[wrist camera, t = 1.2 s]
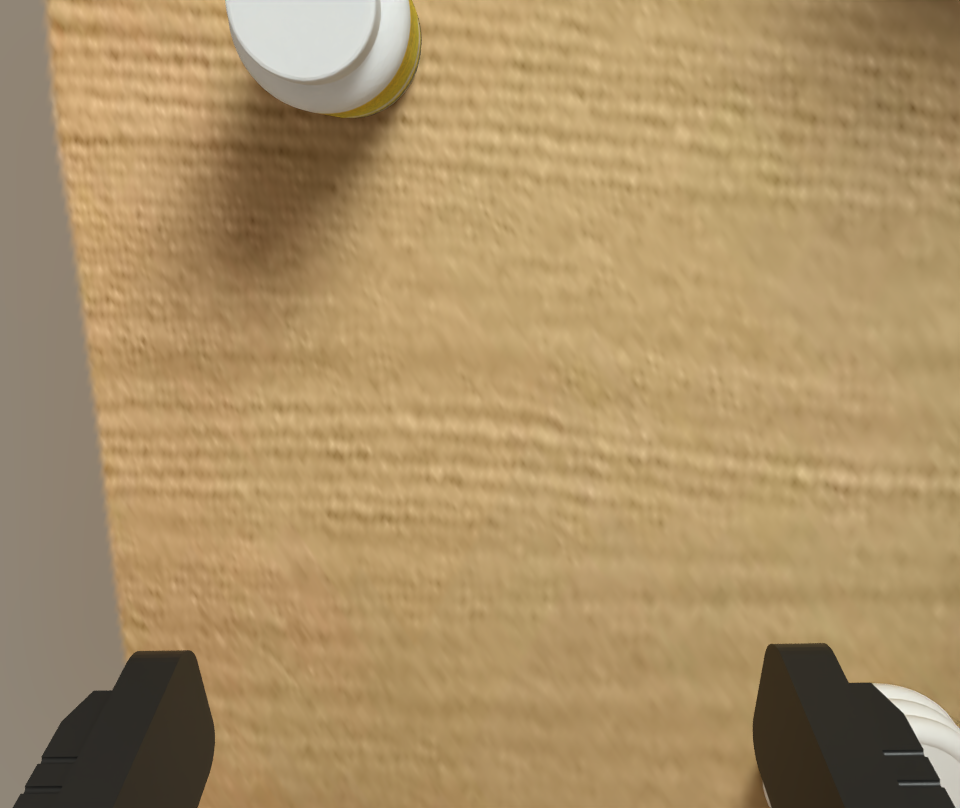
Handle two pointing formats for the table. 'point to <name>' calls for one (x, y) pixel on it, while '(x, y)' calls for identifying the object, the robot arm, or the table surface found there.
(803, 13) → the table surface
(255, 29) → the supplement bottle
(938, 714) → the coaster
